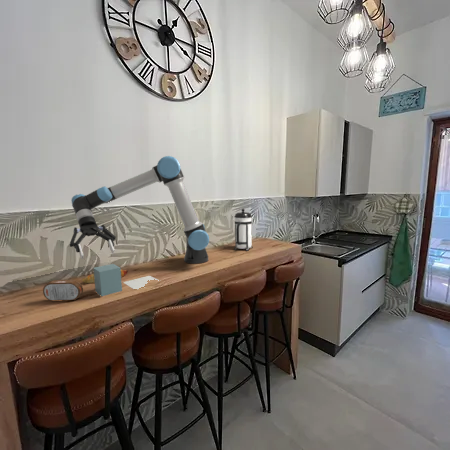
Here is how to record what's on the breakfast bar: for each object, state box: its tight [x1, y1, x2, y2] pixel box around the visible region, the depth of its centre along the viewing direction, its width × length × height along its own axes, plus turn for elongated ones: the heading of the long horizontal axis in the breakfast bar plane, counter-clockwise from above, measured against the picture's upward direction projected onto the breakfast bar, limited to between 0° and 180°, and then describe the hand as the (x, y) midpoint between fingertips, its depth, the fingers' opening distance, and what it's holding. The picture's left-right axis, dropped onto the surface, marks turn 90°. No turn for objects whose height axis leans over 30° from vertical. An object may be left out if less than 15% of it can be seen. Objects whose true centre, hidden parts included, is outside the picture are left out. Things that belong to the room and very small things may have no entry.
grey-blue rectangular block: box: [93, 263, 123, 297], centre depth 116 cm, size 9×9×11 cm
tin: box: [42, 279, 84, 301], centre depth 108 cm, size 15×3×8 cm, turn 92°
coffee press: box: [233, 208, 253, 252], centre depth 191 cm, size 17×16×30 cm
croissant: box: [81, 269, 128, 284], centre depth 132 cm, size 21×10×8 cm, turn 124°
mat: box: [122, 275, 159, 290], centre depth 127 cm, size 14×14×1 cm
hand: (98, 254), depth 122 cm, fingers open, 13 cm apart
